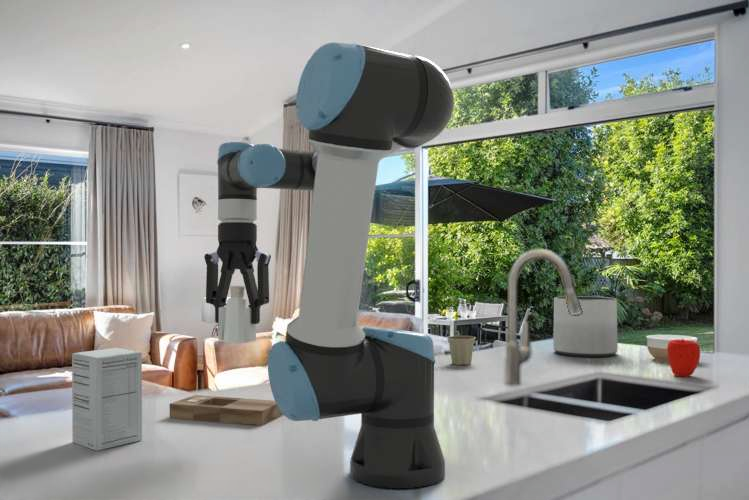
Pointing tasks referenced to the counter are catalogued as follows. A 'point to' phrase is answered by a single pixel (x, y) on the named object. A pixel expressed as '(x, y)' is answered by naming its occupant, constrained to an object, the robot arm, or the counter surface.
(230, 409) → the brown flat tray
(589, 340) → the planter
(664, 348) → the bowl
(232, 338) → the pepper shaker
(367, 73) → the robot arm
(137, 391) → the supplement box
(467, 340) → the flower pot
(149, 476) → the counter surface
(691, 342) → the apple
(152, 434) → the counter surface
